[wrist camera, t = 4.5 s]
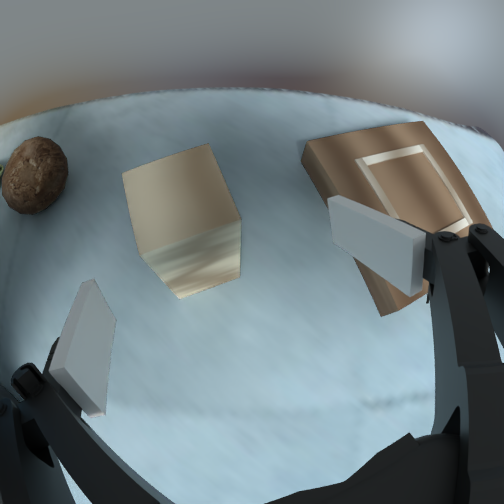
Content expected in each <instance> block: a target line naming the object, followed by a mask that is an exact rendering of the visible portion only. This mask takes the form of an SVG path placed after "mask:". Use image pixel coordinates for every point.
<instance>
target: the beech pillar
mask: <svg viewBox="0 0 504 504" xmlns="http://www.w3.org/2000/svg"><path fill="white" fill-rule="evenodd" d="M122 178H123V183H124V189H125V194H126V199H127V204H128V209H129V213H130V218H131V223H132V227H133V231H134V236H135V240H136V244H137V248H138V252H139V255H140V257H141V258H142V259H143V260H144V261H145V262H146V263H147V265H148V266H149V267H150V268H151V269H152V270H153V271H154V272H155V273H156V274H157V276H158V277H159V278H160V279H161V280H162V281H163V282H164V283H165V284H166V285H167V286H168V287H169V289H170V290H171V291H172V292H173V293H174V294H175V295H176V296H177V297H178V298H179V299H182V298H184V297H187V296H190V295H193V294H195V293H198V292H201V291H204V290H206V289H209V288H212V287H215V286H217V285H220V284H223V283H226V282H228V281H231V280H234V279H236V278H239V277H240V251H241V217H240V215H239V212H238V210H237V208H236V206H235V203H234V201H233V199H232V196H231V194H230V192H229V189H228V187H227V185H226V182H225V180H224V178H223V175H222V173H221V171H220V168H219V166H218V164H217V161H216V159H215V157H214V155H213V152H212V150H211V148H210V145H209V143H208V144H204V145H201V146H198V147H195V148H191V149H188V150H185V151H182V152H179V153H176V154H173V155H170V156H167V157H164V158H161V159H158V160H156V161H153V162H150V163H147V164H144V165H142V166H139V167H136V168H134V169H131V170H129V171H126V172H123V173H122Z"/></svg>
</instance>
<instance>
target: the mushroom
mask: <svg viewBox="0 0 504 504" xmlns="http://www.w3.org/2000/svg"><path fill="white" fill-rule="evenodd" d="M67 176H68V165H67V158H66V156H65V155H64V153H63V151H62V149H61V148H60V146H59V145H57V144H56V143H55V142H53V141H52V140H51V139H48V138H43V137H39V136H38V137H34V138H31V139H28V140H25V141H24V142H23V143H22V144H21V145H20V146H19V147H17V148H16V149H15V150H14V152H13V153H12V155H11V157H10V159H9V161H8V163H7V165H6V168H5V171H4V174H3V177H2V195H3V197H4V199H5V201H6V202H7V204H8V206H9V207H10V208H12V209H13V210H15V211H17V212H18V213H20V214H31V215H33V214H35V213H38V212H40V211H42V210H44V209H46V208H47V207H48V206H49V205H50V204H51V203H53V202H54V201H55V200H56V198H57V197H58V196H59V194H60V193H61V192H62V191H63V189H64V188H65V184H66V180H67Z"/></svg>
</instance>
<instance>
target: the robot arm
mask: <svg viewBox="0 0 504 504" xmlns="http://www.w3.org/2000/svg"><path fill="white" fill-rule="evenodd" d="M327 201H328V208H329V215H330V222H331V230H332V238H333V243H334V244H335V245H337V246H338V247H340V248H341V249H343V250H344V251H346V252H347V253H349V254H350V255H352V256H353V257H354V258H356V259H357V260H359V261H360V262H362V263H363V264H364V265H366V266H367V267H369V268H370V269H371V270H373V271H374V272H376V273H377V274H378V275H380V276H381V277H383V278H384V279H385V280H387V281H388V282H390V283H391V284H392V285H394V286H395V287H396V288H398V289H399V290H401V291H402V292H403V293H405V294H406V295H407V296H409V297H411V296H413V295H415V294H417V293H418V292H420V291H422V284H423V278H424V279H425V280H427V281H428V282H429V286H428V294H427V302H426V303H429V300H430V308H431V317H432V327H433V339H434V355H435V419H434V424H433V428H432V431H431V435H426V436H422V437H419V438H416V439H414V438H413V436H412V435H411V434H410V433H408V434H406V435H405V436H403V437H402V438H400V439H399V440H397V441H396V442H394V443H393V444H391V445H390V446H388V447H386V448H385V449H383V450H381V451H380V452H378V453H377V454H376V455H374V456H373V457H372V458H371V459H370V460H369V461H368V462H367V463H366V464H365V465H364V466H362V467H361V468H360V469H359V470H358V471H357V472H356V473H354V474H353V475H352V476H351V477H350V478H348V479H347V480H346V481H344V482H341V483H337V484H333V485H329V486H324V487H320V488H315V489H310V490H304V491H299V492H296V493H293V494H291V495H288V496H285V497H283V498H280V499H277V500H274V501H271V502H268V503H265V504H504V363H502V361H501V357H500V353H499V349H498V344H497V340H496V337H495V333H496V335H497V337H498V339H499V340H500V342H501V344H502V346H503V348H504V239H503V238H502V237H501V236H500V235H499V234H498V233H497V232H496V231H494V230H493V229H492V228H491V227H489V226H487V225H485V224H481V223H478V224H473V225H471V226H469V233H468V236H465V237H461V238H460V237H459V236H458V235H457V234H455V233H453V232H449V231H440V232H437V233H435V234H432V233H430V232H428V231H426V230H424V229H421V228H419V227H416V226H415V225H413V224H410V223H408V222H406V221H404V220H401V219H396V218H392V217H390V216H388V215H386V214H383V213H381V212H379V211H376V210H374V209H372V208H369V207H367V206H365V205H362V204H360V203H357V202H355V201H352V200H350V199H347V198H345V197H342V196H340V195H337V196H333V197H330V198H327ZM488 268H490V273H489V272H488ZM115 325H116V319H115V317H114V315H113V313H112V312H111V310H110V308H109V306H108V304H107V302H106V301H105V299H104V297H103V295H102V293H101V291H100V289H99V287H98V285H97V283H96V281H95V279H91V280H88V281H86V282H83V283H82V284H81V286H80V289H79V291H78V293H77V296H76V298H75V300H74V303H73V305H72V307H71V310H70V312H69V315H68V317H67V320H66V322H65V325H64V328H63V330H62V333H61V336H60V337H58V338H57V340H56V341H55V342H54V344H53V345H52V347H51V350H50V353H49V354H50V355H49V356H48V358H47V361H46V364H45V367H44V370H43V373H42V374H41V372H40V371H39V370H38V369H37V367H36V366H35V365H34V364H33V363H26V364H24V365H22V366H21V367H19V368H18V369H17V370H16V371H15V373H14V375H13V376H12V379H11V385H12V386H13V388H14V389H15V390H16V391H17V392H18V393H19V394H20V395H21V397H22V398H23V399H24V401H22V402H21V403H19V402H18V401H17V400H16V399H15V398H14V397H13V395H12V394H11V393H10V392H9V391H7V390H6V389H5V388H4V387H3V386H1V385H0V504H76V503H75V501H74V499H73V496H72V494H71V492H70V489H69V487H68V485H67V482H66V480H65V477H64V474H63V472H62V469H61V466H60V463H59V461H58V459H59V460H60V462H61V463H62V465H63V466H64V468H65V469H66V470H67V472H68V473H69V475H70V476H71V477H72V479H73V480H74V481H75V483H76V484H77V485H78V487H79V488H80V489H81V490H82V492H83V493H84V494H85V495H86V497H87V498H88V499H89V500H90V501H91V503H92V504H175V503H173V502H172V501H171V500H169V499H168V498H167V497H165V496H164V495H163V494H162V493H160V492H159V491H158V490H156V489H155V488H154V487H153V486H151V485H150V484H149V483H148V482H147V481H145V480H144V479H143V478H142V477H141V476H140V475H138V474H137V473H136V472H135V471H134V470H133V469H132V468H131V467H129V466H128V465H127V464H126V463H125V462H124V461H123V460H122V459H121V458H120V457H119V456H118V455H117V454H116V453H115V452H114V451H113V450H112V449H111V448H110V447H109V446H108V445H107V444H106V443H105V442H104V441H103V440H102V439H101V438H100V437H99V436H98V435H97V434H96V433H95V432H94V431H93V429H92V428H91V427H90V426H89V425H88V424H87V423H86V422H85V421H84V420H83V419H82V418H81V412H82V410H83V411H84V412H85V413H86V414H87V415H88V416H89V417H90V418H92V417H98V416H103V415H106V401H107V389H108V378H109V369H110V360H111V353H112V345H113V338H114V331H115ZM494 331H495V333H494ZM57 457H58V458H57Z"/></svg>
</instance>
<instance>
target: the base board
mask: <svg viewBox="0 0 504 504" xmlns="http://www.w3.org/2000/svg"><path fill="white" fill-rule="evenodd" d="M301 163H302V164H303V166H304V168H305V169H306V171H307V173H308V174H309V176H310V178H311V180H312V181H313V183H314V185H315V187H316V188H317V190H318V192H319V194H320V195H321V197H322V199H323V201H324V202H325V204H326V206H327V208H328V201H327V198H330V197H333V196H337V195H340V196H342V197H345V198H347V199H350V200H352V201H355V202H357V203H360V204H362V205H365V206H367V207H369V208H372V209H374V210H376V211H379V212H381V213H383V214H386V215H388V216H390V217H392V218H396V219H401V220H404V221H406V222H408V223H410V224H413V225H415V226H416V227H419V228H421V229H424V230H426V231H428V232H430V233H432V234H435V233H437V232H440V231H449V232H453V233H455V234H457V235H458V236H459V237H460V238H461V237H465V236H468V233H469V226H471V225H473V224H478V223H481V224H485V225H487V226H489V227H491V228H492V226H491V224H490V222H489V220H488V218H487V216H486V214H485V212H484V211H483V209H482V207H481V205H480V203H479V202H478V200H477V198H476V197H475V195H474V193H473V191H472V190H471V188H470V187H469V185H468V183H467V182H466V180H465V178H464V177H463V175H462V174H461V172H460V171H459V169H458V168H457V166H456V165H455V163H454V162H453V160H452V159H451V157H450V156H449V155H448V153H447V152H446V150H445V149H444V148H443V146H442V145H441V144H440V142H439V141H438V139H437V138H436V137H435V136H434V134H433V133H432V132H431V130H430V129H429V128H428V127H427V125H426V124H425V123H424V122H423V121H418V122H410V123H403V124H396V125H389V126H383V127H376V128H370V129H365V130H359V131H354V132H348V133H343V134H338V135H333V136H328V137H324V138H319V139H314V140H310V141H307V142H306V145H305V149H304V152H303V156H302V159H301ZM328 210H329V208H328ZM492 229H493V228H492ZM353 258H354V257H353ZM354 260H355V262H356V264H357V266H358V268H359V270H360V272H361V274H362V276H363V278H364V280H365V282H366V285H367V287H368V289H369V291H370V293H371V295H372V298H373V300H374V302H375V304H376V306H377V309H378V311H379V313H380V316H381V317H382V316H385V315H388V314H391V313H393V312H396V311H399V310H400V309H402V308H404V307H406V306H407V305H409V304H410V303H412V302H414V301H415V300H417V299H419V298H420V297H422V296H423V295H425V294H427V293H428V286H429V282H428V281H427V280H425V279H424V278H423V284H422V291H420V292H418V293H417V294H415V295H413V296H411V297H409V296H407V295H406V294H405V293H403V292H402V291H401V290H399V289H398V288H396V287H395V286H394V285H392V284H391V283H390V282H388V281H387V280H385V279H384V278H383V277H381V276H380V275H378V274H377V273H376V272H374V271H373V270H371V269H370V268H369V267H367V266H366V265H364V264H363V263H362V262H360V261H359V260H357V259H356V258H354Z"/></svg>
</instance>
